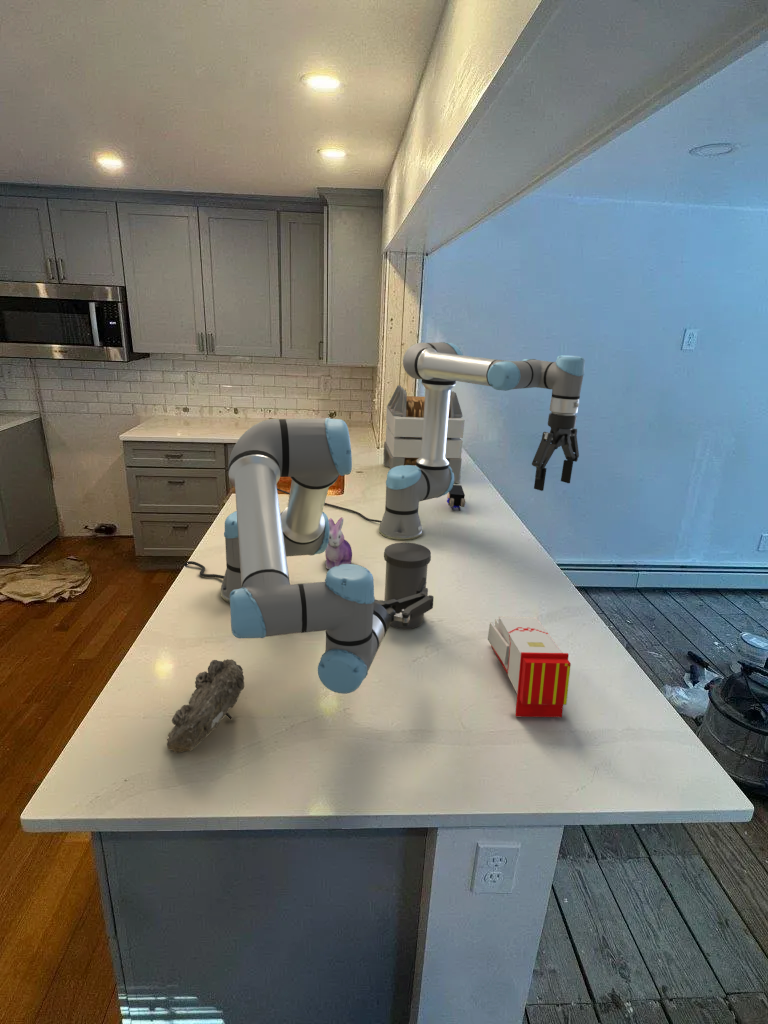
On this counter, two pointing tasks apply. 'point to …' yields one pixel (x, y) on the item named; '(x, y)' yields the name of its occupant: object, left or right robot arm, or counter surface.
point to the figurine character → (456, 497)
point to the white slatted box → (419, 431)
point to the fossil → (206, 705)
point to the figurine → (337, 546)
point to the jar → (403, 588)
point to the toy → (531, 665)
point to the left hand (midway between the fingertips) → (392, 578)
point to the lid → (407, 555)
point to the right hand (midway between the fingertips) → (552, 485)
